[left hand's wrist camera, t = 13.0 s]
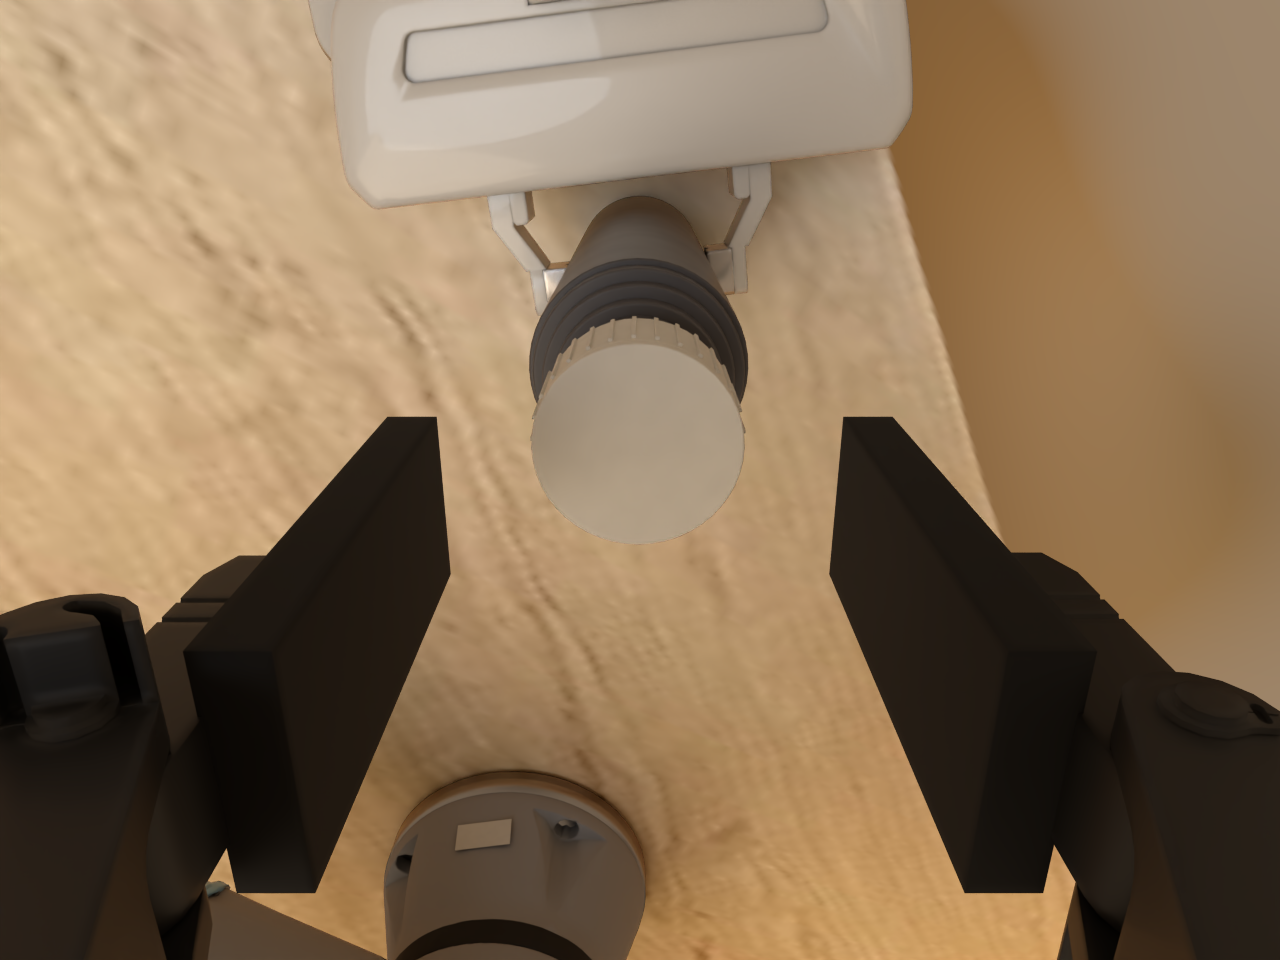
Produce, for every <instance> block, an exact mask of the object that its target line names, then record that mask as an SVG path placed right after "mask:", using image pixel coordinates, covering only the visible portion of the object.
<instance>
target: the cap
mask: <svg viewBox="0 0 1280 960" xmlns="http://www.w3.org/2000/svg"><path fill="white" fill-rule="evenodd" d="M739 412H742V409H741V406H740V403H739V400H738V398H737V395H736V392H735V389H734V386H733V384H732V383H731V381H730V378H729V375H728V372H727V370H726V367H725V365H724V364H723V365H721V364H720V362H719V361H718V359H717V358H716V355H715V352H714V350H713V349H712V347H711V348H710V349H709V348H708V347H707V346H706V345H705V344H704V343H702V342H701V341H700V340H699V337H698V335H697V334H694V335H692V334H691V333H689V332H688V331H686V330H684V329H682V328H680V326H679V324H677V323H675V325H672V324H669V323H666V322H663V321H659V320H658V318H656V317H654V320H653V319H643V318H636V316H632V319H623V320H618V321H615V319H612V320H610V323H607V324H604V325H601V326H599V327H597V328H595V327H594V326H593V327H591V328H590V331H589V332H587V333H586V334H584V335H583V336H581V337H580V338H578V339H576V338H574V339H573V340H572V343H571V346H569V347H568V349H567V350H566V351H565V352H564V353H563V354H561V353H560V354H559V355H558V357H557V360H556V363H555V365H554V368H553V370H552V372H551V371H549V372H548V374H547V377H546V379H545V382H544V384H543V387H542V390H541V392H540V395H539V400H538V403H537V406H536V408H535V411H534V413H533V417H532V419H534V423H533V429H532V435H531V450H532V458H533V464H534V468H535V471H536V475H537V477H538V480H539V482H540V484H541V487H542V488H543V490H544V492H545V493H546V495H547V497H548V498H549V500H550V501H551V502H552V504H553V505H554V506H555V507H556V509H557V510H558V511H559V512H560V513H561V514H562V515H563V516H564V517H566V518H567V519H568V520H569V521H571V522H572V523H573V524H575V525H576V526H578V527H579V528H581V529H583V530H584V531H586V532H588V533H590V534H592V535H595V536H597V537H599V538H603V539H606V540H609V541H613V542H619V543H624V544H652V543H658V542H663V541H667V540H670V539H673V538H677V537H679V536H681V535H684V534H686V533H688V532H690V531H692V530H693V529H695V528H697V527H698V526H700V525H702V524H703V523H704V522H705V521H707V520H708V519H709V518H710V517H712V516H713V515H714V514H715V513H716V512H717V511H718V510H719V509H720V508H721V506H722V505H723V504H724V502H725V501H726V500H727V498H728V497H729V495H730V494H731V492H732V490H733V488H734V487H735V484H736V482H737V479H738V477H739V475H740V471H741V467H742V463H743V458H744V449H745V444H744V433H745V428H744V425H743V422H742V419H741V416H740V413H739Z"/></svg>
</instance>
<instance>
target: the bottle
mask: <svg viewBox="0 0 1280 960" xmlns="http://www.w3.org/2000/svg"><path fill="white" fill-rule="evenodd" d="M632 316H636V318H643V319H653V320H654V317H656V318H658V320H659V321H663V322H666V323H669V324H672V325H675V323H677V324H679V326H680V328H682V329H684V330H686V331H688V332H689V333H691V334H692V335H694V334H697V335H698V337H699V340H700V341H701V342H702V343H704V344H705V345H706V346H707V347H708V348H709V349H710V348H711V347H712V349H713V350H714V352H715V355H716V358H717V359H718V361H719V362H720V364H721V365H723V364H724V365H725V367H726V370H727V372H728V375H729V378H730V381H731V383H732V384H733V386H734V389H735V392H736V395H737V398H738V400H739V403H740V404H741V401H742V398H743V396H744V392H745V387H746V383H747V375H748V353H747V347H746V341H745V338H744V335H743V331H742V328H741V326H740V323H739V321H738V319H737V317H736V315H735V313H734V311H733V309H732V307H731V305H730V303H729V301H728V299H727V297H726V295H725V293H724V291H723V289H722V287H721V285H720V283H719V281H718V279H717V277H716V275H715V273H714V271H713V269H712V267H711V265H710V263H709V261H708V259H707V257H706V255H705V253H704V251H703V249H702V247H701V245H700V243H699V241H698V239H697V237H696V235H695V234H694V232H693V230H692V228H691V226H690V224H689V223H688V221H687V220H686V219H685V217H684V216H683V215H682V214H681V213H680V212H679V211H678V210H677V209H675V208H674V207H673V206H671V205H670V204H668V203H666V202H664V201H662V200H659V199H656V198H652V197H645V196H635V197H628V198H624V199H621V200H618V201H616V202H614V203H612V204H610V205H608V206H607V207H606V208H604V209H603V210H602V211H601V212H600V213H599V214H597V216H596V217H595V218H594V219H593V220H592V222H591V224H590V225H589V227H588V229H587V230H586V232H585V234H584V236H583V238H582V240H581V242H580V244H579V245H578V247H577V249H576V251H575V253H574V255H573V257H572V259H571V261H570V262H569V264H568V266H567V268H566V270H565V272H564V274H563V276H562V278H561V279H560V281H559V283H558V285H557V287H556V289H555V291H554V293H553V295H552V296H551V298H550V300H549V302H548V304H547V306H546V308H545V310H544V312H543V313H542V315H541V317H540V320H539V322H538V324H537V326H536V329H535V332H534V336H533V339H532V343H531V349H530V356H529V372H530V380H531V386H532V390H533V394H534V398H535V400H536V402H537V403H538V400H539V395H540V392H541V390H542V387H543V384H544V382H545V379H546V377H547V374H548V372H549V371H551V372H552V370H553V368H554V365H555V363H556V360H557V357H558V355H559V354H560V353H561V354H563V353H564V352H565V351H566V350H567V349H568V347H569V346H571V343H572V340H573V339H574V338H576V339H578V338H580V337H581V336H583V335H584V334H586V333H587V332H589V331H590V328H591V327H593V326H594V327H595V328H597V327H599V326H601V325H604V324H607V323H610V320H612V319H615V321H618V320H623V319H632Z"/></svg>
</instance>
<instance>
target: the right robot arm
mask: <svg viewBox="0 0 1280 960" xmlns="http://www.w3.org/2000/svg"><path fill="white" fill-rule="evenodd" d="M308 3H309V7H310V12H311V16H312V21H313V25H314V30H315V34H316V37H317V40H318V42H319V44H320V46H321V49H322V50H323V52H324V53H325V55H326V56H327V57H328V58H329V60H330V61H331V69H332V84H333V96H334V107H335V116H336V123H337V131H338V138H339V145H340V151H341V157H342V163H343V168H344V173H345V177H346V180H347V182H348V185H349V186H350V187H351V189H352V190H353V191H354V192H355V193H356V194H357V195H358V196H359V197H361V198H362V199H363V200H364V201H365V202H366V203H367V204H368V205H369V206H371V207H372V208H374V209H386V208H395V207H403V206H412V205H420V204H428V203H436V202H445V201H453V200H461V199H470V198H478V197H486V196H487V199H488V205H489V211H490V217H491V222H492V228H493V230H494V231H495V233H496V234H497V235H498V236H499V238H500V239H501V240H502V242H503V243H504V244H505V245H506V247H507V248H508V249H509V250H510V252H511V253H512V254H513V255H514V257H515V258H516V259H517V261H518V262H519V263H520V264H521V266H522V267H523V268H524V269H525V271H526V272H528V271H530V277H531V283H532V290H533V296H534V302H535V308H536V312H537V315H538V316H541V315H542V313H543V312H544V310H545V308H546V306H547V304H548V302H549V300H550V298H551V296H552V295H553V293H554V291H555V289H556V287H557V285H558V283H559V281H560V279H561V278H562V276H563V274H564V272H565V270H566V268H567V266H568V264H569V262H570V261H568V262H558V263H550V261H549V259H548V258H547V256H546V255H545V254H544V252H543V251H542V250H541V248H540V247H539V246H538V244H537V243H536V241H535V240H534V239H533V237H532V236H531V235H530V233H529V232H528V231H527V229H526V228H525V227H524V225H525V224H527V223H528V222H530V221H531V220H532V219H533V218H534V217H535V212H534V205H533V198H532V191H536V190H544V189H552V188H561V187H569V186H577V185H586V184H594V183H602V182H611V181H619V180H627V179H635V178H644V177H652V176H660V175H669V174H677V173H685V172H693V171H702V170H710V169H718V168H727V174H728V185H729V193H730V194H731V195H732V196H734V197H735V198H737V199H742V202H741V204H740V206H739V208H738V211H737V213H736V215H735V217H734V220H733V222H732V224H731V226H730V229H729V231H728V233H727V235H726V238H725V240H724V243H720V244H712V245H705V246H704V253H705V255H706V257H707V259H708V261H709V263H710V265H711V267H712V269H713V271H714V273H715V275H716V277H717V279H718V281H719V283H720V285H721V287H722V289H723V291H724V293H725V295H730V294H739V293H747V288H748V281H747V266H746V251H745V246H749V244H750V242H751V239H752V237H753V235H754V233H755V231H756V229H757V227H758V225H759V223H760V221H761V218H762V216H763V214H764V212H765V210H766V208H767V206H768V204H769V202H770V200H771V198H772V183H771V163H770V162H776V161H785V160H793V159H801V158H809V157H818V156H826V155H834V154H843V153H851V152H859V151H867V150H875V149H884V148H888V147H890V146H891V145H892V144H893V143H894V142H895V140H896V139H897V138H898V136H899V135H900V133H901V132H902V130H903V129H904V127H905V126H906V124H907V122H908V121H909V119H910V116H911V113H912V106H913V80H912V59H911V43H910V32H909V22H908V13H907V5H906V0H308Z"/></svg>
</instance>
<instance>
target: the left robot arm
mask: <svg viewBox="0 0 1280 960" xmlns="http://www.w3.org/2000/svg"><path fill="white" fill-rule="evenodd" d="M450 574H451V573H450V561H449V550H448V539H447V528H446V517H445V505H444V494H443V483H442V472H441V461H440V450H439V438H438V427H437V417H387V418H386V419H385V420H384V421H383V423H382V424H381V425H380V426H379V427H378V428H377V429H376V431H375V432H374V433H373V434H372V435H371V436H370V437H369V439H368V440H367V441H366V442H365V443H364V444H363V445H362V447H361V448H360V449H359V450H358V451H357V452H356V453H355V455H354V456H353V457H352V458H351V459H350V460H349V461H348V463H347V464H346V465H345V466H344V467H343V468H342V469H341V471H340V472H339V473H338V474H337V475H336V476H335V477H334V479H333V480H332V481H331V482H330V483H329V484H328V485H327V487H326V488H325V489H324V490H323V491H322V492H321V494H320V495H319V496H318V497H317V498H316V499H315V500H314V502H313V503H312V504H311V505H310V506H309V507H308V508H307V510H306V511H305V512H304V513H303V514H302V515H301V516H300V518H299V519H298V520H297V521H296V522H295V523H294V524H293V526H292V527H291V528H290V529H289V530H288V531H287V532H286V534H285V535H284V536H283V537H282V538H281V539H280V540H279V542H278V543H277V544H276V545H275V546H274V547H273V548H272V550H271V551H270V552H269V553H268V554H267V555H266V556H237V557H236V558H234V559H232V560H230V561H228V562H226V563H225V564H223V565H221V566H219V567H217V568H216V569H214V570H212V571H210V572H208V573H206V574H205V575H203V576H202V577H201V578H200V579H199V580H198V581H197V582H196V583H195V584H194V585H193V586H192V587H191V588H190V589H189V590H188V591H187V592H186V593H185V594H184V595H183V596H182V597H181V603H176V604H175V605H174V606H173V607H172V608H171V609H170V610H169V611H168V612H167V613H166V614H165V615H164V616H163V617H162V622H157V623H156V624H155V625H154V626H153V627H152V628H151V629H150V630H149V631H148V632H147V633H146V634H145V633H144V629H143V625H142V621H141V617H140V613H139V609H138V606H137V605H135V604H134V603H132V602H131V601H129V600H128V599H126V598H125V597H120V596H113V595H107V594H101V593H100V594H83V595H69V596H64V597H59V598H54V599H49V600H45V601H40V602H35V603H32V604H30V605H27V606H24V607H21V608H18V609H15V610H13V611H10V612H7V613H4V614H2V615H0V960H386V959H384V958H382V957H381V956H379V955H376V954H374V953H372V952H369V951H367V950H365V949H362V948H360V947H358V946H355V945H353V944H351V943H349V942H346V941H344V940H342V939H339V938H337V937H335V936H332V935H330V934H328V933H325V932H323V931H321V930H318V929H316V928H314V927H312V926H309V925H307V924H305V923H302V922H300V921H298V920H295V919H293V918H291V917H288V916H286V915H284V914H281V913H279V912H277V911H275V910H273V909H270V908H268V907H266V906H264V905H262V904H260V903H257V902H255V901H253V900H251V899H249V898H247V897H244V896H242V895H240V894H238V893H315V892H316V890H317V888H318V885H319V883H320V881H321V878H322V876H323V874H324V871H325V869H326V867H327V864H328V862H329V859H330V857H331V855H332V852H333V850H334V848H335V845H336V843H337V841H338V838H339V836H340V834H341V831H342V829H343V827H344V824H345V822H346V819H347V817H348V815H349V812H350V810H351V808H352V805H353V803H354V801H355V798H356V796H357V794H358V791H359V789H360V786H361V784H362V782H363V779H364V777H365V775H366V772H367V770H368V768H369V765H370V763H371V761H372V758H373V756H374V753H375V751H376V749H377V746H378V744H379V742H380V739H381V737H382V735H383V732H384V730H385V728H386V725H387V723H388V720H389V718H390V716H391V713H392V711H393V709H394V706H395V704H396V702H397V699H398V697H399V695H400V692H401V690H402V687H403V685H404V683H405V680H406V678H407V676H408V673H409V671H410V669H411V666H412V664H413V662H414V659H415V657H416V654H417V652H418V650H419V647H420V645H421V643H422V640H423V638H424V636H425V633H426V631H427V629H428V626H429V624H430V622H431V619H432V617H433V614H434V612H435V610H436V607H437V605H438V603H439V600H440V598H441V596H442V593H443V591H444V589H445V586H446V584H447V581H448V579H449V577H450ZM829 574H830V577H831V579H832V581H833V584H834V586H835V589H836V591H837V593H838V596H839V598H840V600H841V603H842V605H843V607H844V610H845V612H846V614H847V617H848V619H849V622H850V624H851V626H852V629H853V631H854V633H855V636H856V638H857V640H858V643H859V645H860V647H861V650H862V652H863V654H864V657H865V659H866V662H867V664H868V666H869V669H870V671H871V673H872V676H873V678H874V680H875V683H876V685H877V687H878V690H879V692H880V695H881V697H882V699H883V702H884V704H885V706H886V709H887V711H888V713H889V716H890V718H891V720H892V723H893V725H894V728H895V730H896V732H897V735H898V737H899V739H900V742H901V744H902V746H903V749H904V751H905V753H906V756H907V758H908V761H909V763H910V765H911V768H912V770H913V772H914V775H915V777H916V779H917V782H918V784H919V786H920V789H921V791H922V794H923V796H924V798H925V801H926V803H927V805H928V808H929V810H930V812H931V815H932V817H933V819H934V822H935V824H936V827H937V829H938V831H939V834H940V836H941V838H942V841H943V843H944V845H945V848H946V850H947V852H948V855H949V857H950V860H951V862H952V864H953V867H954V869H955V871H956V874H957V876H958V878H959V881H960V883H961V885H962V888H963V890H964V892H965V893H1043V891H1044V887H1045V883H1046V878H1047V874H1048V869H1049V865H1050V860H1051V856H1052V851H1053V847H1054V845H1055V847H1056V849H1057V850H1058V852H1059V854H1060V856H1061V857H1062V859H1063V861H1064V862H1065V864H1066V866H1067V868H1068V869H1069V871H1070V873H1071V875H1072V876H1073V878H1074V880H1075V881H1076V883H1075V887H1074V891H1073V895H1072V899H1071V904H1070V908H1069V912H1068V916H1067V920H1066V924H1065V928H1064V933H1063V937H1062V941H1061V945H1060V949H1059V953H1058V958H1057V960H1280V711H1279V710H1277V709H1275V708H1274V707H1272V706H1271V705H1269V704H1268V703H1266V702H1265V701H1263V700H1262V699H1260V698H1258V697H1257V696H1255V695H1254V694H1252V693H1249V692H1247V691H1244V690H1242V689H1240V688H1237V687H1235V686H1232V685H1230V684H1228V683H1225V682H1223V681H1220V680H1216V679H1211V678H1208V677H1203V676H1199V675H1195V674H1191V673H1182V672H1175V671H1174V670H1173V669H1172V668H1171V667H1170V666H1169V665H1168V664H1167V663H1166V662H1165V661H1164V660H1163V659H1162V658H1161V657H1160V656H1159V655H1158V653H1157V652H1156V651H1155V650H1154V649H1153V648H1152V647H1151V646H1150V645H1149V644H1148V643H1147V642H1146V641H1145V640H1144V639H1143V638H1142V637H1141V636H1140V635H1139V634H1138V633H1137V632H1136V631H1135V630H1134V629H1133V628H1132V627H1131V626H1130V625H1129V624H1128V623H1127V622H1126V621H1125V620H1124V619H1119V614H1118V613H1117V612H1116V611H1115V610H1114V609H1113V608H1112V607H1111V606H1110V605H1109V604H1108V603H1107V602H1106V601H1105V600H1100V595H1099V594H1098V593H1097V592H1096V591H1095V590H1094V588H1093V587H1092V586H1091V585H1090V584H1089V583H1088V582H1087V581H1086V580H1085V579H1084V578H1083V577H1082V576H1081V575H1080V574H1079V573H1078V572H1076V571H1074V570H1073V569H1071V568H1069V567H1067V566H1065V565H1063V564H1062V563H1060V562H1058V561H1056V560H1054V559H1052V558H1050V557H1049V556H1047V555H1045V554H1043V553H1011V552H1010V551H1009V550H1008V549H1007V547H1006V546H1005V545H1004V544H1003V543H1002V542H1001V540H1000V539H999V538H998V537H997V536H996V535H995V534H994V532H993V531H992V530H991V529H990V528H989V527H988V526H987V524H986V523H985V522H984V521H983V520H982V519H981V518H980V516H979V515H978V514H977V513H976V512H975V511H974V510H973V508H972V507H971V506H970V505H969V504H968V503H967V502H966V500H965V499H964V498H963V497H962V496H961V495H960V494H959V492H958V491H957V490H956V489H955V488H954V487H953V485H952V484H951V483H950V482H949V481H948V480H947V479H946V477H945V476H944V475H943V474H942V473H941V472H940V471H939V469H938V468H937V467H936V466H935V465H934V464H933V463H932V461H931V460H930V459H929V458H928V457H927V456H926V455H925V453H924V452H923V451H922V450H921V449H920V448H919V447H918V445H917V444H916V443H915V442H914V441H913V440H912V439H911V437H910V436H909V435H908V434H907V433H906V432H905V431H904V429H903V428H902V427H901V426H900V425H899V424H898V423H897V421H896V420H895V419H894V418H893V417H843V427H842V438H841V450H840V461H839V472H838V483H837V494H836V505H835V517H834V528H833V539H832V550H831V561H830V573H829ZM226 848H227V851H228V856H229V860H230V865H231V869H232V874H233V878H234V883H235V887H236V891H237V893H236V892H233V891H231V890H230V887H229V885H227V884H225V883H224V882H221V881H216V882H212V883H211V882H209V881H208V879H209V878H210V876H211V874H212V872H213V871H214V869H215V867H216V865H217V864H218V862H219V860H220V859H221V857H222V855H223V853H224V852H225V850H226ZM384 906H385V924H386V941H387V958H388V960H626V959H627V956H628V954H629V951H630V949H631V946H632V943H633V941H634V938H635V936H636V933H637V931H638V928H639V925H640V922H641V918H642V915H643V911H644V906H645V864H644V857H643V854H642V850H641V847H640V845H639V842H638V840H637V838H636V836H635V834H634V833H633V831H632V829H631V828H630V826H629V825H628V824H627V822H626V821H625V820H624V819H623V818H622V816H621V815H620V814H619V813H618V812H617V811H616V810H615V809H614V808H612V807H611V806H610V805H609V804H608V803H606V802H605V801H604V800H602V799H601V798H600V797H598V796H596V795H595V794H593V793H592V792H590V791H588V790H586V789H584V788H582V787H580V786H578V785H576V784H573V783H571V782H568V781H565V780H562V779H559V778H555V777H551V776H547V775H542V774H536V773H529V772H496V773H487V774H482V775H476V776H473V777H469V778H465V779H462V780H460V781H457V782H454V783H452V784H450V785H448V786H445V787H443V788H441V789H440V790H438V791H436V792H435V793H433V794H431V795H430V796H429V797H427V798H426V799H425V800H423V801H422V802H421V803H420V804H419V805H418V806H417V807H416V808H415V809H414V810H413V811H412V812H411V813H410V814H409V815H408V817H407V818H406V820H405V821H404V823H403V824H402V826H401V828H400V830H399V832H398V834H397V836H396V839H395V842H394V845H393V848H392V850H391V853H390V856H389V859H388V862H387V866H386V870H385V877H384Z"/></svg>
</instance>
